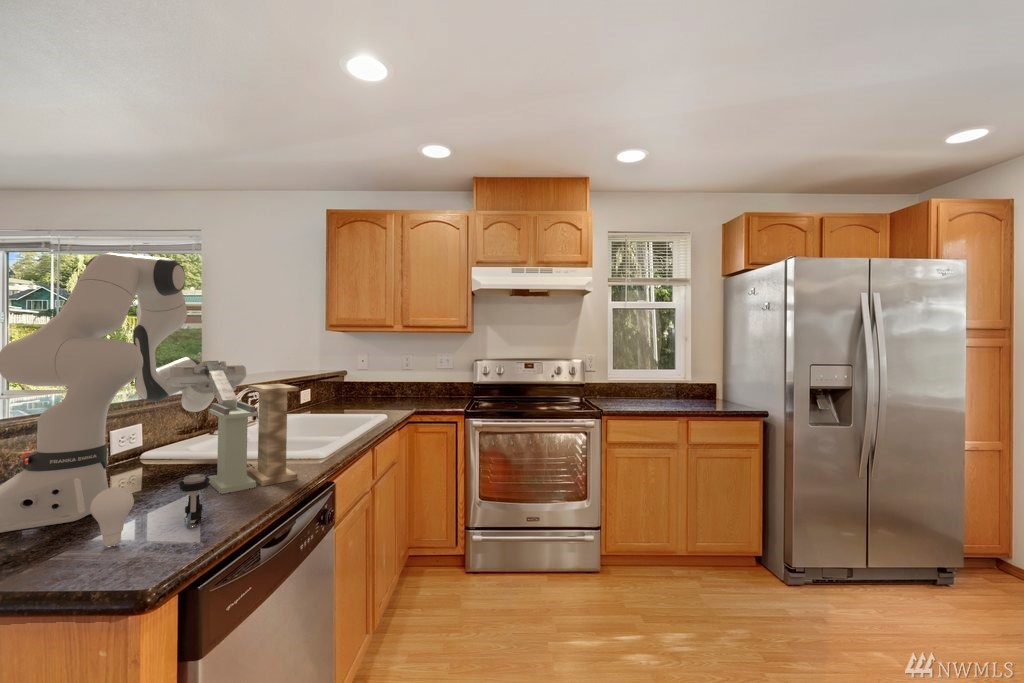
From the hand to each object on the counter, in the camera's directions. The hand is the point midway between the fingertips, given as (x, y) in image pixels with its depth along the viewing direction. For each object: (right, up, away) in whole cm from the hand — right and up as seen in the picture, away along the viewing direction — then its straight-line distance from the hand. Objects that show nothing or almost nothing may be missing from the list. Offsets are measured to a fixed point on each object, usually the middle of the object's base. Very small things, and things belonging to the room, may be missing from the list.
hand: (213, 363), depth 137 cm
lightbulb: (+16, -32, -53) cm, 64 cm away
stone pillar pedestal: (+22, -32, -8) cm, 40 cm away
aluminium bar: (+6, -7, -6) cm, 11 cm away
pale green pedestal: (+15, -32, -16) cm, 39 cm away
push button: (+24, -32, -42) cm, 58 cm away
